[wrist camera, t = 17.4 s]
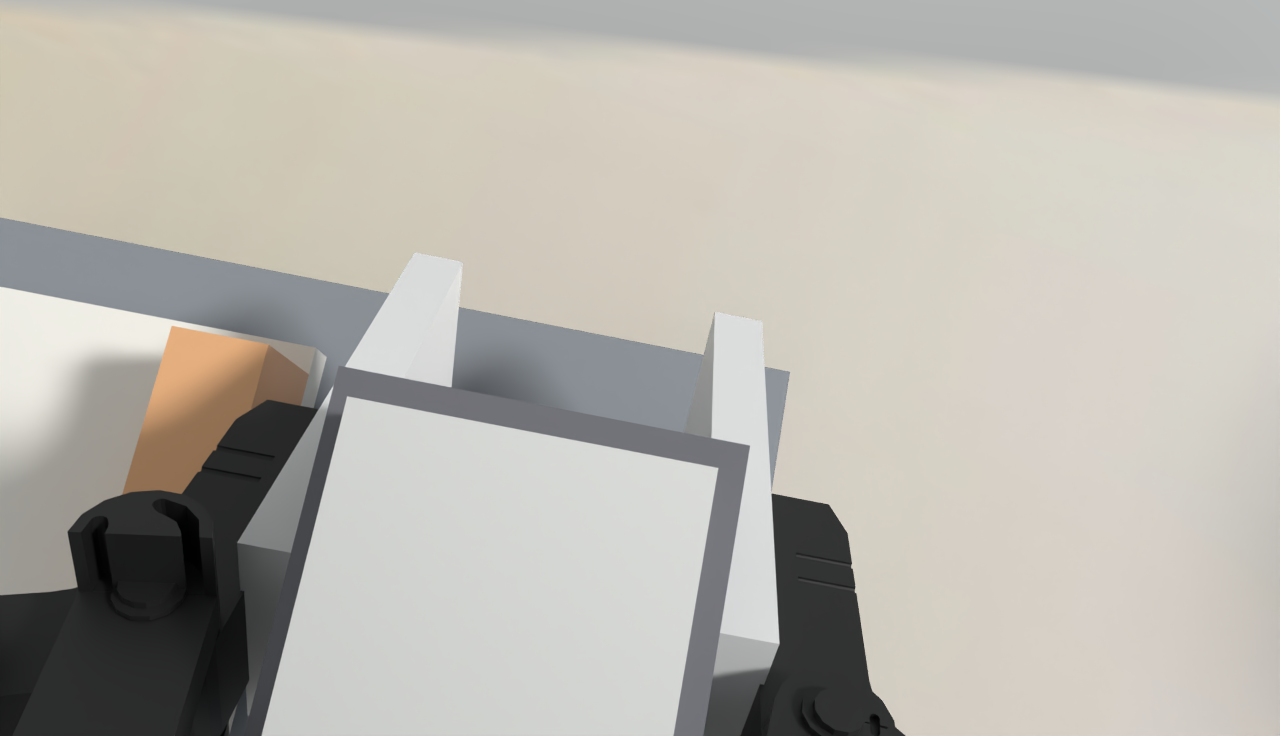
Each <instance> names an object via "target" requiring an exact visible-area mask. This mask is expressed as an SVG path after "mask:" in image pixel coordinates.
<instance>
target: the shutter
mask: <svg viewBox="0 0 1280 736" xmlns="http://www.w3.org/2000/svg"><path fill="white" fill-rule="evenodd" d="M326 358H327V357H326V356H325V355H324V354H323V353H322V352H320V351H319V350H318V349H317V348H315V347H310V346H305V345H300V344H295V343H289V342H284V341H279V340H274V339H269V338H264V337H258V336H253V335H248V334H243V333H238V332H232V331H227V330H222V329H217V328H212V327H207V326H201V325H196V324H191V323H186V322H181V321H176V320H170V319H165V318H160V317H155V316H150V315H144V314H139V313H134V312H129V311H124V310H119V309H113V308H108V307H103V306H98V305H93V304H88V303H82V302H77V301H72V300H67V299H62V298H56V297H51V296H46V295H41V294H36V293H31V292H25V291H20V290H15V289H10V288H5V287H0V595H11V594H25V593H40V592H52V591H59V590H66V589H73V588H76V587H78V586H77V581H76V576H75V570H74V565H73V560H72V554H71V549H70V544H69V538H68V533H67V531H68V530H69V529H70V528H71V527H72V525H73V524H74V523H75V522H76V521H77V519H78V518H79V517H80V516H81V515H82V514H83V513H84V512H86V511H88V510H89V509H91V508H93V507H94V506H96V505H98V504H99V503H101V502H102V501H104V500H107V499H110V498H113V497H117V496H120V495H123V494H126V493H130V492H138V491H152V490H162V491H168V492H173V493H179V494H182V493H183V491H184V490H185V489H186V487H187V486H188V484H189V483H190V482H191V480H192V479H193V478H194V476H195V475H196V473H197V472H200V471H201V468H202V465H203V464H204V462H205V461H206V460H207V458H208V457H209V455H210V454H211V453H212V451H213V450H215V451H216V448H217V444H218V443H219V442H220V440H221V439H222V438H223V436H224V435H225V433H226V432H227V431H228V429H229V428H230V426H231V425H232V424H233V422H234V421H235V420H236V419H237V418H239V417H240V416H242V415H243V414H245V413H247V412H248V411H250V410H251V409H253V408H255V407H256V406H258V405H260V404H261V403H263V402H264V401H266V400H273V401H278V402H283V403H289V404H294V405H299V406H304V407H309V408H314V405H315V401H316V397H317V393H318V389H319V385H320V381H321V377H322V373H323V370H324V366H325V362H326ZM236 707H237V705H236ZM236 707H235V709H234V711H233V713H232V715H231V717H230V719H229V734H230V731H231V727H232V723H233V719H234V715H235V711H236Z"/></svg>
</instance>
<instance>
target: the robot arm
mask: <svg viewBox="0 0 1280 736" xmlns="http://www.w3.org/2000/svg"><path fill="white" fill-rule="evenodd" d="M462 267H463V262H461V261H456V260H451V259H445V258H440V257H435V256H430V255H425V254H420V253H414V255H413V256H412V258H411V260H410V261H409V263H408V264H407V266H406V268H405V269H404V271H403V273H402V274H401V276H400V277H399V279H398V281H397V282H396V284H395V286H394V287H393V289H392V291H391V292H390V294H389V295H388V297H387V299H386V300H385V302H384V304H383V305H382V307H381V309H380V310H379V312H378V313H377V315H376V317H375V318H374V320H373V322H372V323H371V325H370V327H369V328H368V330H367V331H366V333H365V335H364V336H363V338H362V340H361V341H360V343H359V344H358V346H357V348H356V349H355V351H354V353H353V354H352V356H351V358H350V359H349V361H348V362H347V364H346V366H345V367H348V368H353V369H359V370H364V371H369V372H374V373H379V374H384V375H389V376H395V377H400V378H405V379H410V380H415V381H420V382H426V383H431V384H436V385H441V386H446V387H452V376H453V365H454V354H455V343H456V332H457V321H458V310H459V300H460V289H461V278H462ZM333 386H334V385H333ZM332 390H333V387H332V389H331V390H330V392H329V393H328V395H327V397H326V398H325V400H324V402H323V403H322V405H321V407H320V408H319V409H315V408H309V407H304V406H299V405H294V404H289V403H283V402H278V401H273V400H266V401H264V402H263V403H261V404H260V405H258V406H256V407H255V408H253V409H251V410H250V411H248V412H247V413H245V414H243V415H242V416H240V417H239V418H237V419H236V420H235V421H234V422H233V424H232V425H231V426H230V428H229V429H228V431H227V432H226V433H225V435H224V436H223V438H222V439H221V440H220V442H219V443H218V444H217V448H216V451H215V450H213V451H212V453H211V454H210V455H209V457H208V458H207V460H206V461H205V462H204V464H203V465H202V468H201V471H200V472H197V473H196V475H195V476H194V478H193V479H192V480H191V482H190V483H189V484H188V486H187V487H186V489H185V490H184V491H183V493H182V494H179V493H173V492H168V491H162V490H152V491H138V492H130V493H126V494H123V495H120V496H117V497H113V498H110V499H107V500H104V501H102V502H101V503H99V504H98V505H96V506H94V507H93V508H91V509H89V510H88V511H86V512H84V513H83V514H82V515H81V516H80V517H79V518H78V519H77V521H76V522H75V523H74V524H73V525H72V527H71V528H70V529H69V530H68V531H67V533H68V538H69V544H70V549H71V554H72V560H73V565H74V570H75V576H76V581H77V586H78V587H76V588H73V589H66V590H59V591H52V592H40V593H25V594H11V595H0V736H229V719H230V717H231V715H232V713H233V711H234V709H235V707H236V705H237V703H238V701H239V699H240V698H241V696H242V694H243V692H244V690H245V688H246V697H247V713H248V716H249V714H250V710H251V707H252V703H253V699H254V695H255V691H256V687H257V683H258V679H259V675H260V671H261V668H262V664H263V660H264V656H265V652H266V648H267V644H268V640H269V636H270V632H271V628H272V625H273V621H274V617H275V613H276V609H277V605H278V601H279V597H280V593H281V589H282V585H283V582H284V578H285V574H286V570H287V566H288V562H289V558H290V554H291V550H292V546H293V542H294V539H295V535H296V531H297V527H298V523H299V519H300V515H301V511H302V507H303V503H304V500H305V496H306V492H307V488H308V484H309V480H310V476H311V472H312V468H313V464H314V460H315V457H316V453H317V449H318V445H319V441H320V437H321V433H322V429H323V425H324V421H325V417H326V414H327V410H328V406H329V402H330V398H331V394H332ZM684 433H688V434H693V435H698V436H703V437H709V438H714V439H719V440H724V441H729V442H734V443H739V444H745V445H750V450H749V456H748V462H747V468H746V475H745V481H744V487H743V493H742V499H741V506H740V512H739V518H738V524H737V530H736V536H735V543H734V549H733V555H732V561H731V567H730V574H729V580H728V586H727V592H726V598H725V605H724V611H723V617H722V623H721V629H720V636H719V642H718V648H717V654H716V660H715V666H714V673H713V679H712V685H711V691H710V697H709V704H708V710H707V716H706V722H705V728H704V735H703V736H905V735H904V734H903V733H902V732H900V731H899V730H898V729H897V728H896V727H895V724H894V720H893V718H892V716H891V715H890V713H889V711H888V710H887V708H886V706H885V704H884V703H883V701H882V700H881V699H880V698H879V697H878V696H877V695H876V694H874V693H873V692H872V689H871V686H870V682H869V676H868V670H867V663H866V656H865V649H864V642H863V636H862V629H861V622H860V615H859V608H858V602H857V595H856V593H855V581H854V574H853V569H851V564H852V561H851V554H850V547H849V540H848V534H847V532H846V530H845V529H844V527H843V526H842V524H841V523H840V521H839V520H838V518H837V517H836V515H835V513H834V512H833V510H832V509H831V507H830V506H829V505H828V504H823V503H818V502H813V501H807V500H802V499H797V498H792V497H787V496H781V495H776V494H771V477H770V459H769V440H768V422H767V403H766V385H765V366H764V348H763V329H762V321H759V320H754V319H749V318H744V317H739V316H734V315H729V314H724V313H719V312H715V313H714V317H713V321H712V325H711V329H710V333H709V337H708V341H707V344H706V348H705V352H704V356H703V360H702V364H701V368H700V372H699V375H698V379H697V383H696V387H695V391H694V395H693V399H692V403H691V407H690V410H689V414H688V418H687V422H686V426H685V430H684Z"/></svg>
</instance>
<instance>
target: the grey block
mask: <svg viewBox="0 0 1280 736" xmlns="http://www.w3.org/2000/svg"><path fill="white" fill-rule="evenodd" d="M749 450H750V445H745V444H739V443H734V442H729V441H724V440H719V439H714V438H709V437H703V436H698V435H693V434H688V433H683V432H678V431H673V430H667V429H662V428H657V427H652V426H647V425H642V424H637V423H631V422H626V421H621V420H616V419H611V418H606V417H600V416H595V415H590V414H585V413H580V412H575V411H570V410H564V409H559V408H554V407H549V406H544V405H539V404H534V403H528V402H523V401H518V400H513V399H508V398H503V397H498V396H492V395H487V394H482V393H477V392H472V391H467V390H462V389H456V388H451V387H446V386H441V385H436V384H431V383H426V382H420V381H415V380H410V379H405V378H400V377H395V376H389V375H384V374H379V373H374V372H369V371H364V370H359V369H353V368H348V367H343V366H339V367H338V371H337V375H336V378H335V382H334V386H333V390H332V394H331V398H330V402H329V406H328V410H327V414H326V417H325V421H324V425H323V429H322V433H321V437H320V441H319V445H318V449H317V453H316V457H315V460H314V464H313V468H312V472H311V476H310V480H309V484H308V488H307V492H306V496H305V500H304V503H303V507H302V511H301V515H300V519H299V523H298V527H297V531H296V535H295V539H294V542H293V546H292V550H291V554H290V558H289V562H288V566H287V570H286V574H285V578H284V582H283V585H282V589H281V593H280V597H279V601H278V605H277V609H276V613H275V617H274V621H273V625H272V628H271V632H270V636H269V640H268V644H267V648H266V652H265V656H264V660H263V664H262V668H261V671H260V675H259V679H258V683H257V687H256V691H255V695H254V699H253V703H252V707H251V710H250V714H249V718H248V722H247V726H246V730H245V734H244V736H703V735H704V728H705V722H706V716H707V710H708V704H709V697H710V691H711V685H712V679H713V673H714V666H715V660H716V654H717V648H718V642H719V636H720V629H721V623H722V617H723V611H724V605H725V598H726V592H727V586H728V580H729V574H730V567H731V561H732V555H733V549H734V543H735V536H736V530H737V524H738V518H739V512H740V506H741V499H742V493H743V487H744V481H745V475H746V468H747V462H748V456H749Z"/></svg>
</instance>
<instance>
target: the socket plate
mask: <svg viewBox="0 0 1280 736" xmlns="http://www.w3.org/2000/svg"><path fill="white" fill-rule="evenodd" d="M0 287H5V288H10V289H15V290H20V291H25V292H31V293H36V294H41V295H46V296H51V297H56V298H62V299H67V300H72V301H77V302H82V303H88V304H93V305H98V306H103V307H108V308H113V309H119V310H124V311H129V312H134V313H139V314H144V315H150V316H155V317H160V318H165V319H170V320H176V321H181V322H186V323H191V324H196V325H201V326H207V327H212V328H217V329H222V330H227V331H232V332H238V333H243V334H248V335H253V336H258V337H264V338H269V339H274V340H279V341H284V342H289V343H295V344H300V345H305V346H310V347H315V348H317V349H318V350H319V351H320V352H322V353H323V354H324V355H325V356H326V357H327V358H326V362H325V366H324V370H323V373H322V377H321V381H320V385H319V389H318V393H317V397H316V401H315V405H314V408H315V409H319V408H320V407H321V405H322V403H323V402H324V400H325V398H326V397H327V395H328V393H329V392H330V390H331V389H332V387H333V385H334V382H335V378H336V375H337V371H338V367H339V366H343V367H345V366H346V364H347V362H348V361H349V359H350V358H351V356H352V354H353V353H354V351H355V349H356V348H357V346H358V344H359V343H360V341H361V340H362V338H363V336H364V335H365V333H366V331H367V330H368V328H369V327H370V325H371V323H372V322H373V320H374V318H375V317H376V315H377V313H378V312H379V310H380V309H381V307H382V305H383V304H384V302H385V300H386V299H387V297H388V295H389V293H383V292H378V291H373V290H368V289H363V288H358V287H353V286H348V285H342V284H337V283H332V282H327V281H322V280H317V279H312V278H307V277H301V276H296V275H291V274H286V273H281V272H276V271H271V270H266V269H261V268H255V267H250V266H245V265H240V264H235V263H230V262H225V261H220V260H214V259H209V258H204V257H199V256H194V255H189V254H184V253H179V252H173V251H168V250H163V249H158V248H153V247H148V246H143V245H138V244H132V243H127V242H122V241H117V240H112V239H107V238H102V237H97V236H92V235H86V234H81V233H76V232H71V231H66V230H61V229H56V228H51V227H45V226H40V225H35V224H30V223H25V222H20V221H15V220H10V219H4V218H0ZM703 356H704V355H701V354H696V353H691V352H686V351H680V350H675V349H670V348H665V347H660V346H655V345H650V344H645V343H639V342H634V341H629V340H624V339H619V338H614V337H609V336H604V335H598V334H593V333H588V332H583V331H578V330H573V329H568V328H563V327H558V326H552V325H547V324H542V323H537V322H532V321H527V320H522V319H517V318H511V317H506V316H501V315H496V314H491V313H486V312H481V311H476V310H470V309H465V308H460V307H459V310H458V321H457V332H456V343H455V354H454V365H453V376H452V387H451V388H456V389H462V390H467V391H472V392H477V393H482V394H487V395H492V396H498V397H503V398H508V399H513V400H518V401H523V402H528V403H534V404H539V405H544V406H549V407H554V408H559V409H564V410H570V411H575V412H580V413H585V414H590V415H595V416H600V417H606V418H611V419H616V420H621V421H626V422H631V423H637V424H642V425H647V426H652V427H657V428H662V429H667V430H673V431H678V432H683V433H684V430H685V426H686V422H687V418H688V414H689V410H690V407H691V403H692V399H693V395H694V391H695V387H696V383H697V379H698V375H699V372H700V368H701V364H702V360H703ZM789 374H790V372H788V371H783V370H778V369H773V368H767V367H765V385H766V403H767V422H768V440H769V459H770V477H771V491H772V484H773V478H774V471H775V465H776V459H777V452H778V446H779V439H780V433H781V426H782V420H783V413H784V407H785V400H786V394H787V387H788V381H789ZM248 718H249V716H248V713H247V697H246V688H245V690H244V692H243V694H242V696H241V698H240V699H239V701H238V703H237V707H236V711H235V715H234V719H233V723H232V727H231V731H230V734H229V736H244V734H245V730H246V726H247V722H248Z"/></svg>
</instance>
